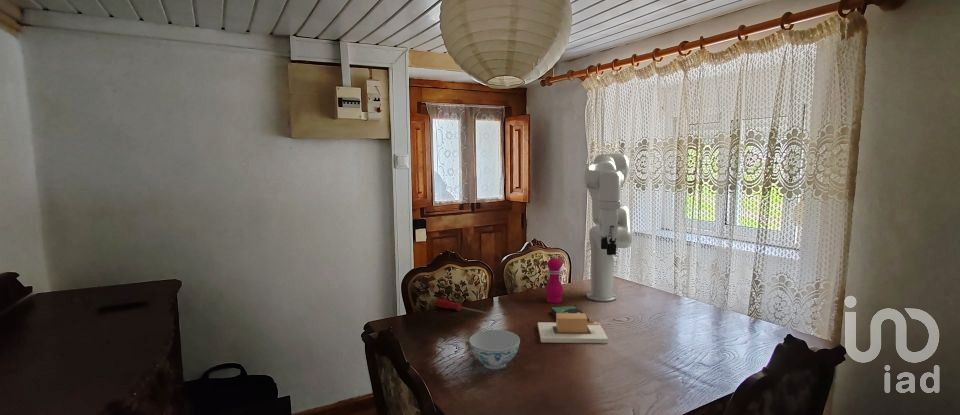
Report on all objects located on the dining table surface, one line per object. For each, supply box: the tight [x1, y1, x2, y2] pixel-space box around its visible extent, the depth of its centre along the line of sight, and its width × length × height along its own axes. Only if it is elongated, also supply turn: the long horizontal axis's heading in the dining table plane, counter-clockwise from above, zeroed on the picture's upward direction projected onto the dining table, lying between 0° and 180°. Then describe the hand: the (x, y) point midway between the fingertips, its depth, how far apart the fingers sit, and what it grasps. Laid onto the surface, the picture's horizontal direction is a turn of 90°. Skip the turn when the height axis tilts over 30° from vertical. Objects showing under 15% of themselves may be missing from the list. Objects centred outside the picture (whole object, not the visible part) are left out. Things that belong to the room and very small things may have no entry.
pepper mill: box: [545, 254, 564, 304], centre depth 189 cm, size 7×7×20 cm
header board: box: [537, 321, 609, 344], centre depth 155 cm, size 14×22×4 cm, turn 87°
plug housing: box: [555, 312, 600, 333], centre depth 154 cm, size 5×14×5 cm, turn 87°
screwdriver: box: [434, 297, 488, 314], centre depth 179 cm, size 4×25×4 cm, turn 56°
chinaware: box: [468, 329, 521, 370], centre depth 133 cm, size 15×15×8 cm
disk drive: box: [550, 305, 590, 321], centre depth 170 cm, size 10×3×15 cm
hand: (608, 251), depth 164 cm, fingers open, 9 cm apart
